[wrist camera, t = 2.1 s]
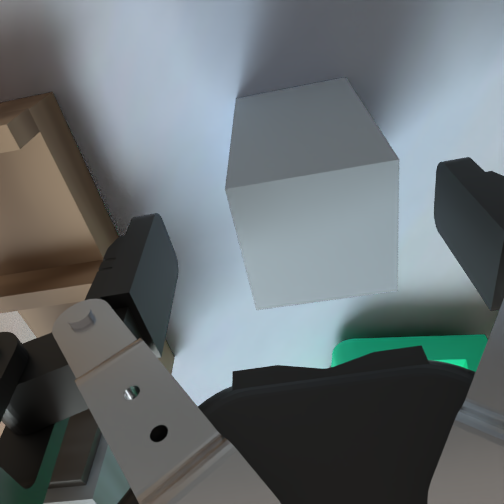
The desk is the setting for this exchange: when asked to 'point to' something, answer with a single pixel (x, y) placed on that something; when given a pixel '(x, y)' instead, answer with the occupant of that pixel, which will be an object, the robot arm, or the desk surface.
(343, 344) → the camera mount
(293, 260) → the finger block
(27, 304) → the rail
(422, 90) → the desk surface
